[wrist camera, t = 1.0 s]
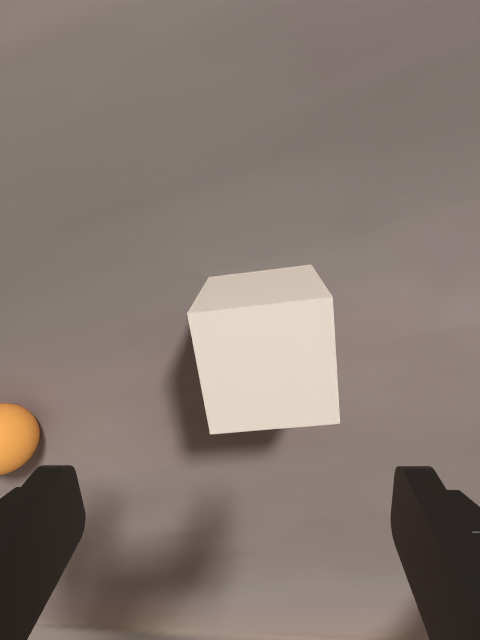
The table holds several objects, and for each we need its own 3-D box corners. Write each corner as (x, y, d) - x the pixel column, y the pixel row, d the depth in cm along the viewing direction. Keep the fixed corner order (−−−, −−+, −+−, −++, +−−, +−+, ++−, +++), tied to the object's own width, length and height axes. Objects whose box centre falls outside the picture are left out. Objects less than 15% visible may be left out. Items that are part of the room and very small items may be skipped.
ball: (63, 414, 29) (26, 458, 25) (35, 455, 31) (-6, 503, 26) (6, 378, 29) (-44, 416, 24) (-20, 422, 30) (-73, 466, 25)
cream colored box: (318, 359, 27) (339, 423, 19) (223, 368, 27) (210, 434, 20) (311, 264, 25) (332, 296, 17) (208, 277, 25) (187, 313, 18)
